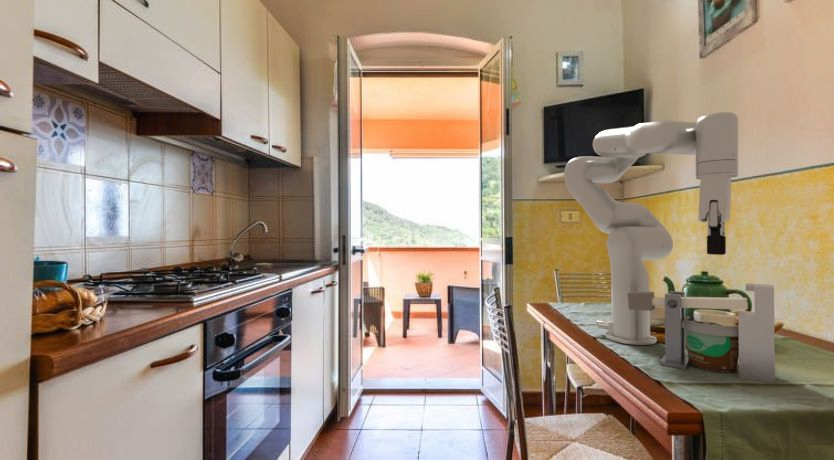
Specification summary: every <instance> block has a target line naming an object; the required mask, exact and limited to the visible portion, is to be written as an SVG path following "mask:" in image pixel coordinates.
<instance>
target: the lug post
mask: <svg viewBox="0 0 834 460" xmlns="http://www.w3.org/2000/svg"><path fill="white" fill-rule="evenodd" d="M745 291H746V292H754V311H748V310H738V317H737V318H738V323H737V324H738V325H737V326H739V357H738V377H739V378H744V379H748V380H755V381H759V382H765V383H771V384H775V383H776V355H775V351H776V350H775V347H776V346H775V341H776V340H775V285H774V284H761V283H746V284H745Z"/></svg>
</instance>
